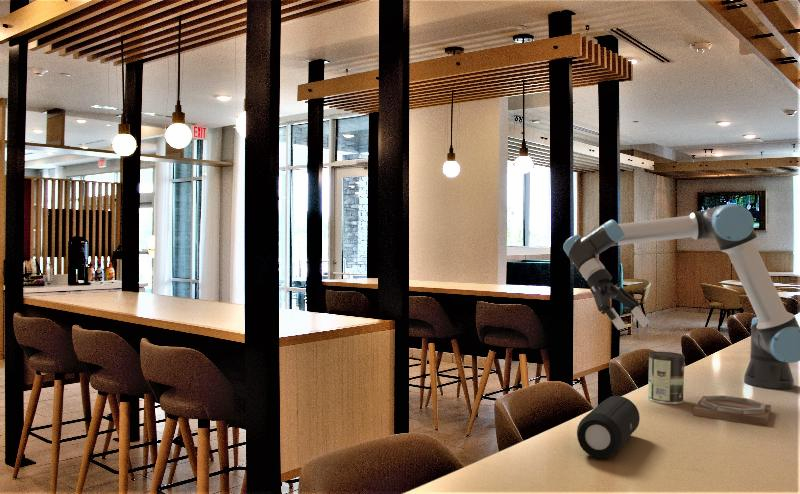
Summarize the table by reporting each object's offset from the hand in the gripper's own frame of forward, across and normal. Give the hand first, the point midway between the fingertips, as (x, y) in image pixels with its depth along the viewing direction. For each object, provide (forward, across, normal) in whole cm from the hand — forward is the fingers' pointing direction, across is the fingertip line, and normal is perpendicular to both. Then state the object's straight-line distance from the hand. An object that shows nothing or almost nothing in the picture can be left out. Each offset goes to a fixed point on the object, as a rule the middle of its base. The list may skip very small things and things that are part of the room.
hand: (634, 326), depth 217 cm
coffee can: (+23, 0, -7) cm, 24 cm away
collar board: (+37, -2, +7) cm, 37 cm away
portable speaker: (+36, +54, +5) cm, 65 cm away
